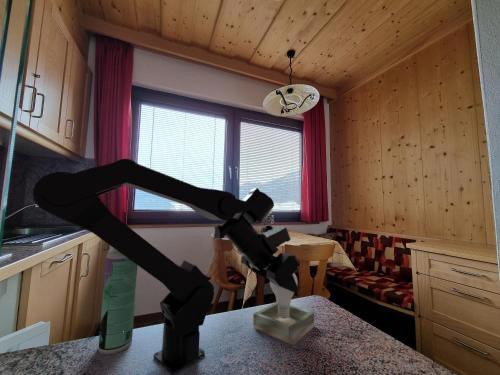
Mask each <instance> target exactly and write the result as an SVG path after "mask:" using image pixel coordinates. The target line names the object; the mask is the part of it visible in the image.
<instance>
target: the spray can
mask: <svg viewBox="0 0 500 375" xmlns="http://www.w3.org/2000/svg"><path fill="white" fill-rule="evenodd" d="M137 273H138V265H137V264H135V263H134V262H132V261H131V260H130V259H128V258H127V257H126V256H124V255H123V254H121V253H120V252H119V251H117V250H116V249H114V248H113V247H112V248H111V249H110V250H108V251H107V254H106V257H105V268H104V280H103V292H102V302H101V303H102V304H101V316H100V324H99V325H100V326H99V338H98V349H97V350H98V352H99V354H101V355H113V354H117V353H120V352H123V351H125V350H126V349H128V348H129V347H130V346H131V345H132V344H133V332H134V319H135V306H136V305H135V303H136V291H137V290H136V288H137ZM123 331H124V332H123Z"/></svg>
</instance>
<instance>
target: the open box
mask: <svg viewBox="0 0 500 375" xmlns="http://www.w3.org/2000/svg"><path fill="white" fill-rule="evenodd" d="M289 308H290V309H289V310H290V311H289V312H290V313H289V314H290V316H289V317H287V318H285V319H283V318H281V317H280V316H278V303H277V301H275V302H273V303H271V304H269V305H268V306H266V307H264V308H262V309H260V310H259V311H256V312H255V313H253V324H252V326H253V329H254V330H257V331H259V332H261V333H263V334H267V335H268V336H271V337H273V338H275V339H278V340H281V341H282V342H285V343H287V344H289V345H292V346H295V345H296V343H298V342H299V341H300V340H301V339H302V338H304V336H305V335H306V334H307V333H308V332H310V331H311V330H312V329H314V327H315V312H314V311H312V310H308V309H304V308H302V307H297V306H295V305H291V304H290V307H289Z"/></svg>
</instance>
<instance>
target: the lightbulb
mask: <svg viewBox="0 0 500 375" xmlns="http://www.w3.org/2000/svg"><path fill="white" fill-rule="evenodd" d="M293 277H294V279H295V282H296V284H297V286H298V284H299V282H298V277H297V275H296V274H295V272H294V273H293ZM270 281H271V280H269V286H270V289H271V290H272V292H273V293H274V295H275V299H276V302H277V303H278V316H280V317H281V318H283V319H285V318H287V317H289V316H290V314H289V313H290V312H289V311H290V310H289V309H290V308H289V307H290V305H291V302H292V297H293V296H294V294H295V293H294V292H292V291H289V290H287V289H285V288H282V287H279V286H277V285H275V284H274V283H272V282H270Z"/></svg>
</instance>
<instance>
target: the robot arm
mask: <svg viewBox="0 0 500 375" xmlns="http://www.w3.org/2000/svg"><path fill="white" fill-rule="evenodd" d="M123 186H127V187H130V188H133V189H135V190H138V191H142V192H144V193H145V192H146V193H148V194H151V195H154V196H157V197H160V198H162V199H166V200H169V201H172V202H176V203H178V204H182V205H184V206H186V207H188V208H190V209H192V210H193V211H195V213H197V214H199V215H201V216H203V217H204V218H206V219H209V220H212V221H224V222H223V223H222V224H221V225H216V226H214V235H213V238H214V240H223V239H224V237H226V238H227V239H228V240H229V241H230V242H231V243H232V245H233V246H234V247H235V248H236V251H237V252H238V253H239V254H240V255H242V256H241V260H240V261H241V262H240V263H241V264H243V266H244V267H245V268H247V269H248V270H250V271H251V272H253V273H255V274H256V275H259V276H261V277H263V278H265V279H267V280H269V283H270V282H272V283H274V284H275V285H277V286H279V287H282V288H285V289H287V290H289V291H292V292H294V294H297V292H298V291H299V286H298V285H297V284H296V282H295V279H294V277H293V273H295V272H296V271H297V270H298V268H299V267H300V265H301V261H300V260H299V259H298V258H297V257H296V255H294V254H291V253H288V252H280V253H279V254H278V255H277V256H275V255H276V254H277V252H278V251H279V248H278V247H279V246H281V245H283V244H285V243H288V242H290V241H291V239H292V238H291V236H290V233H289V231H288V229H287V226H282V225H277V226H273V227H272V225H270V224H266V225H264V226H262V229H261V230H262V232H261V233H259V232H258V231H257V229H255V228H254V227H253V225H260V224H261V223H262V222H263V220H264V219H265V218H266V217H267V216H268V214H269V213H270V212H271V211H272V210H273V208H274V207H275V202H274V200H273V199H272V197H271V196H269V195H268V194H266V193H265V192H264V191H261V190H260V189H259V188H257V187H256V188H255V187H254V188H252V189H250V190H249V192H248V194H247V195H246V196H245V197H244V198H242V199H239V198H237V197H236V196H235V195H234V194H233V193H232V192H231V191H230V192H229V191H224V190H220V189H216V188H215V189H213V188H204V187H199V186H196V185H193V184H191V183H188V182H186V181H183V180H181V179H178V178H176V177H173V176H170V175H167V174H165V173H162V172H160V171H157V170H155V169H154V168H153V169H152V168H149V167H147V166H145V165H143V164H140V163H138V162H136V161H134V160H133V159H130V158H120V159H118V160H116V161H113V162H110V163H107V164H103V165H99V166H95V167H90V168H85V169H83V170H80V171H77V172H74V173H73V172H68V171H57V172H56V171H54V172H52V173H48V174H47V175H44V176H42V177H40V179H39V180H38V181H37V182H36V183H35V185H34V187H33V189H32V199H33V201H34V203H35V205H36V206H38V208H39V209H41V210H42V211H45V212H46V213H49V214H50V215H52V216H55V217H56V218H59V219H60V220H63V221H66V222H68V223H70V224H71V225H74V226H76V227H79V228H82V229H83V230H85V231H88V232H90V233H91V234H94V235H95V236H97V238H99V239H100V240H102V241H104V242H105V243H106V244H107V245H108V246H110V247H112V248H114V249H116V250H117V251H119V252H120V253H121V254H123V255H124V256H126V257H127V258H128V259H130V260H131V261H132V262H134V263H135V264H137V267H139V268H141V269H142V270H144V271H145V272H147V274H149V275H150V276H152V277H153V278H154V279H156V280H158V281H159V282H160V283H161V284H162V285H163V287H165V289H166V290H167V291H168V293H167V294H166V296H164V298H162V300H161V301H160V302H159V306H160V307H159V308H160V310H161V314H162V315H164V318H163V328H162V329H163V331H162V332H163V333H162V347H161V350H159V351H157V352H155V353H154V354H153V359H154V360H156V362H158V363H159V364H160V365H162V366H163V367H164V368H165V369H166V370H168V371H169V372H170V373H171V374H176V373H177V372H179V371H181V370H182V369H184V368H186V367H187V366H189V365H191V364H192V363H195V362H196V361H197V360H200V358H202V357H205V354H206V351H205V350H203V349H202V348H201V347H200V337H201V336H200V326H203V324H204V322H205V319H206V316H207V313H208V310H209V307H210V306H211V305H212V303H213V301H214V297H215V287H214V284H213V283H211V279H212V277H211V276H209V275H207V274H205V273H203V272H202V271H201V269H200V268H198V266H197V265H196V264H193V263H191V262H190V261H188V260H185V259H184V260H183V261H182V262H181V264H176V263H175V262H174V261H173V260H171V259H170V258H169V257H167V256H166V255H165V254H164V253H162V251H161V250H159V249H157V248H156V247H155V246H154V245H152V244H151V243H150V242H148V241H147V240H146V239H145V238H143V237H142V236H140V234H139V233H137V232H135V230H133V229H132V228H131V227H130V226H128V225H127V224H126V223H124V222H123V221H122V220H120V219H119V218H118V217H117V216H116V215H114V214H113V213H112V212H111V211H110V209H109V208H108V207H107V205H106V204H105V203H104V202H103V201H102V200H101V198H100V197H99V196H102V195H104V194H106V193H109V192H111V191H114V190H117V189H119V188H121V187H123ZM270 280H271V281H270Z"/></svg>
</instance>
